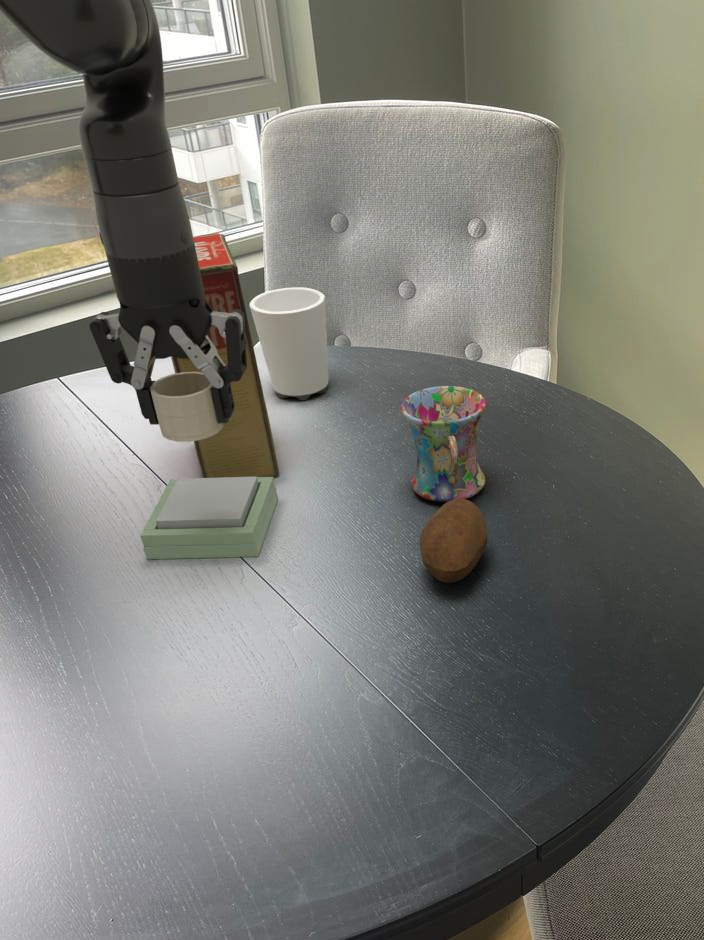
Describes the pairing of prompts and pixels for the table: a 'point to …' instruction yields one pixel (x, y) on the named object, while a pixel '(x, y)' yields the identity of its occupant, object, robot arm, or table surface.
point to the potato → (453, 540)
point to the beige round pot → (185, 407)
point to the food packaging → (248, 430)
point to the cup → (293, 339)
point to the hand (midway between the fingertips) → (190, 420)
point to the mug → (445, 441)
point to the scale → (212, 531)
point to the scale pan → (208, 503)
